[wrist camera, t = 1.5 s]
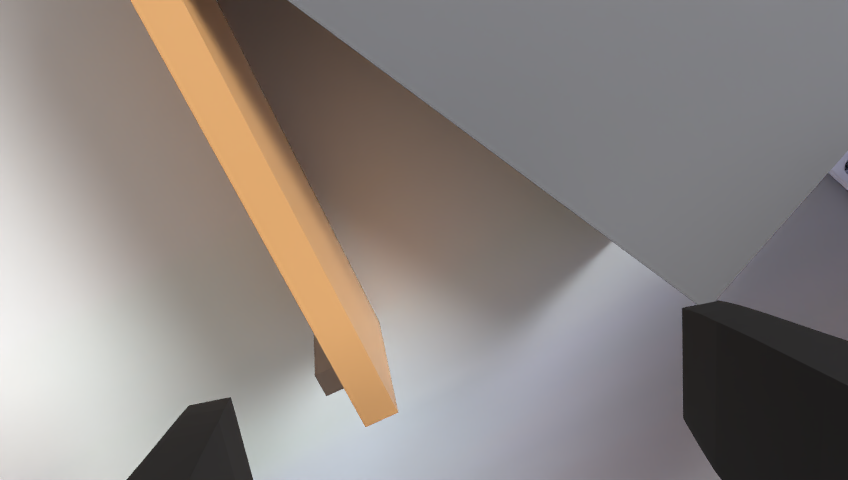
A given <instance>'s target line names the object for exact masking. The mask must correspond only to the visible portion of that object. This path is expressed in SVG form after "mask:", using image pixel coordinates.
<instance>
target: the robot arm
mask: <svg viewBox="0 0 848 480" xmlns="http://www.w3.org/2000/svg"><path fill="white" fill-rule="evenodd" d="M847 160H848V151H847V152H846V153H845V154H844V156H843V157H842V158H841V159H840V160H839V161H838V162H837V164H836V165H835V166H834V167H833V168H832V169H831V170H830V171H829V174H830V175H831V176H832V177H833V178H835V179H836V180H837V181H838V182H839V183H840V184H841V185H842V186H843V187H844V188H846V189H847V190H848V169H847V170H844V169H845V164H846V162H847ZM682 332H683V419H684V420H685V422H686V424H687V426H688V427H689V429H690V431H691V432H692V434H693V436H694V438H695V439H696V441H697V443H698V444H699V446H700V448H701V449H702V451H703V453H704V454H705V456H706V457H707V459H708V461H709V462H710V464H711V465H712V467H713V469H714V470H715V472H716V473H717V474H718V476H719V477H720V478H721V479H722V480H848V341H846V340H843V339H840V338H837V337H834V336H831V335H828V334H825V333H822V332H819V331H816V330H813V329H810V328H807V327H804V326H801V325H798V324H795V323H793V322H790V321H787V320H784V319H781V318H778V317H775V316H772V315H769V314H766V313H763V312H759V311H756V310H753V309H750V308H747V307H743V306H740V305H736V304H732V303H728V302H723V301H715V302H710V303H705V304H700V305H695V306H690V307H685V308H682ZM127 480H253V478H252V474H251V470H250V466H249V463H248V459H247V455H246V452H245V448H244V444H243V441H242V437H241V433H240V429H239V426H238V422H237V418H236V415H235V411H234V407H233V404H232V400H231V397H230V398H225V399H220V400H215V401H210V402H205V403H199V404H194V405H189V406H188V407H187V409H186V410H185V411H184V412H183V413H182V414H181V415H180V416H179V418H178V419H177V420H176V421H175V422H174V424H173V425H172V426H171V427H170V428H169V430H168V431H167V432H166V433H165V435H164V436H163V437H162V438H161V439H160V441H159V442H158V443H157V444H156V446H155V447H154V448H153V449H152V450H151V452H150V453H149V454H148V455H147V456H146V458H145V459H144V460H143V461H142V462H141V463H140V465H139V466H138V467H137V468H136V469H135V470H134V472H133V473H132V474H131V475H130V476H129V478H128V479H127Z"/></svg>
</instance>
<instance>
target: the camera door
mask: <svg viewBox="0 0 848 480" xmlns="http://www.w3.org/2000/svg"><path fill="white" fill-rule="evenodd" d="M130 1H131V2H132V4H133V6H134V8H135V10H136V11H137V13H138V15H139V17H140V19H141V21H142V22H143V24H144V26H145V28H146V30H147V31H148V33H149V35H150V37H151V39H152V40H153V42H154V44H155V46H156V48H157V50H158V51H159V53H160V55H161V57H162V59H163V60H164V62H165V64H166V66H167V68H168V70H169V71H170V73H171V75H172V77H173V79H174V80H175V82H176V84H177V86H178V88H179V89H180V91H181V93H182V95H183V97H184V99H185V100H186V102H187V104H188V106H189V108H190V109H191V111H192V113H193V115H194V117H195V119H196V120H197V122H198V124H199V126H200V128H201V129H202V131H203V133H204V135H205V137H206V139H207V140H208V142H209V144H210V146H211V148H212V149H213V151H214V153H215V155H216V157H217V158H218V160H219V162H220V164H221V166H222V168H223V169H224V171H225V173H226V175H227V177H228V178H229V180H230V182H231V184H232V186H233V188H234V189H235V191H236V193H237V195H238V197H239V198H240V200H241V202H242V204H243V206H244V207H245V209H246V211H247V213H248V215H249V217H250V218H251V220H252V222H253V224H254V226H255V227H256V229H257V231H258V233H259V235H260V237H261V238H262V240H263V242H264V244H265V246H266V247H267V249H268V251H269V253H270V255H271V257H272V258H273V260H274V262H275V264H276V266H277V267H278V269H279V271H280V273H281V275H282V276H283V278H284V280H285V282H286V284H287V286H288V287H289V289H290V291H291V293H292V295H293V296H294V298H295V300H296V302H297V304H298V306H299V307H300V309H301V311H302V313H303V315H304V316H305V318H306V320H307V322H308V324H309V325H310V327H311V329H312V331H313V333H314V356H315V377H316V378H317V380H318V382H319V384H320V385H321V387H322V389H323V391H324V393H325V394H326V396H328V395H330V394H332V393H334V392H337V391H339V390H341V389H343V388H344V389H345V391H346V393H347V394H348V396H349V398H350V400H351V402H352V404H353V405H354V407H355V409H356V411H357V413H358V414H359V416H360V418H361V420H362V422H363V424H364V425H365V427H367V426H369V425H371V424H374V423H376V422H378V421H380V420H382V419H385V418H387V417H389V416H391V415H394V414H396V413H398V409H397V404H396V400H395V395H394V390H393V385H392V380H391V376H390V371H389V366H388V361H387V357H386V352H385V347H384V342H383V337H382V333H381V328H380V323H379V321H378V319H377V317H376V315H375V313H374V311H373V309H372V307H371V305H370V303H369V301H368V299H367V297H366V295H365V293H364V291H363V289H362V287H361V285H360V283H359V281H358V279H357V277H356V275H355V273H354V271H353V269H352V268H351V266H350V264H349V262H348V260H347V258H346V256H345V254H344V252H343V250H342V248H341V246H340V244H339V242H338V240H337V238H336V236H335V234H334V232H333V230H332V228H331V226H330V224H329V222H328V220H327V218H326V216H325V214H324V212H323V210H322V208H321V206H320V204H319V202H318V200H317V198H316V196H315V194H314V192H313V190H312V188H311V187H310V185H309V183H308V181H307V179H306V177H305V175H304V173H303V171H302V169H301V167H300V165H299V163H298V161H297V159H296V157H295V155H294V153H293V151H292V149H291V147H290V145H289V143H288V141H287V139H286V137H285V135H284V133H283V131H282V129H281V127H280V125H279V123H278V121H277V119H276V117H275V115H274V113H273V111H272V109H271V107H270V105H269V104H268V102H267V100H266V98H265V96H264V94H263V92H262V90H261V88H260V86H259V84H258V82H257V80H256V78H255V76H254V74H253V72H252V70H251V68H250V66H249V64H248V62H247V60H246V58H245V56H244V54H243V52H242V50H241V48H240V46H239V44H238V42H237V40H236V38H235V36H234V34H233V32H232V30H231V28H230V26H229V24H228V23H227V21H226V19H225V17H224V15H223V13H222V11H221V9H220V7H219V5H218V3H217V1H216V0H130Z"/></svg>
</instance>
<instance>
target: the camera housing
mask: <svg viewBox="0 0 848 480" xmlns="http://www.w3.org/2000/svg"><path fill="white" fill-rule="evenodd" d="M288 1H289V2H291V3H292V4H293V5H295V6H296V7H297V8H299V9H300V10H301V11H303V12H304V13H305V14H307V15H308V16H309V17H311V18H312V19H313V20H315V21H316V22H317V23H319V24H320V25H322V26H323V27H324V28H326V29H327V30H328V31H330V32H331V33H332V34H334V35H335V36H336V37H338V38H339V39H340V40H342V41H343V42H344V43H346V44H347V45H348V46H350V47H351V48H352V49H354V50H355V51H357V52H358V53H359V54H361V55H362V56H363V57H365V58H366V59H367V60H369V61H370V62H371V63H373V64H374V65H375V66H377V67H378V68H379V69H381V70H382V71H383V72H385V73H386V74H388V75H389V76H390V77H392V78H393V79H394V80H396V81H397V82H398V83H400V84H401V85H402V86H404V87H405V88H406V89H408V90H409V91H410V92H412V93H413V94H414V95H416V96H417V97H418V98H420V99H421V100H423V101H424V102H425V103H427V104H428V105H429V106H431V107H432V108H433V109H435V110H436V111H437V112H439V113H440V114H441V115H443V116H444V117H445V118H447V119H448V120H449V121H451V122H452V123H453V124H455V125H456V126H458V127H459V128H460V129H462V130H463V131H464V132H466V133H467V134H468V135H470V136H471V137H472V138H474V139H475V140H476V141H478V142H479V143H480V144H482V145H483V146H484V147H486V148H487V149H489V150H490V151H491V152H493V153H494V154H495V155H497V156H498V157H499V158H501V159H502V160H503V161H505V162H506V163H507V164H509V165H510V166H511V167H513V168H514V169H515V170H517V171H518V172H519V173H521V174H522V175H524V176H525V177H526V178H528V179H529V180H530V181H532V182H533V183H534V184H536V185H537V186H538V187H540V188H541V189H542V190H544V191H545V192H546V193H548V194H549V195H550V196H552V197H553V198H555V199H556V200H557V201H559V202H560V203H561V204H563V205H564V206H565V207H567V208H568V209H569V210H571V211H572V212H573V213H575V214H576V215H577V216H579V217H580V218H581V219H583V220H584V221H585V222H587V223H588V224H590V225H591V226H592V227H594V228H595V229H596V230H598V231H599V232H600V233H602V234H603V235H604V236H606V237H607V238H608V239H610V240H611V241H612V242H614V243H615V244H616V245H618V246H619V247H620V248H622V249H623V250H625V251H626V252H627V253H629V254H630V255H631V256H633V257H634V258H635V259H637V260H638V261H639V262H641V263H642V264H643V265H645V266H646V267H647V268H649V269H650V270H651V271H653V272H654V273H656V274H657V275H658V276H660V277H661V278H662V279H664V280H665V281H666V282H668V283H669V284H670V285H672V286H673V287H674V288H676V289H677V290H678V291H680V292H681V293H682V294H684V295H685V296H686V297H688V298H689V299H691V300H692V301H693V302H695V303H696V304H697V305H700V304H705V303H710V302H715V301H716V300H717V299H718V298H719V296H720V295H721V294H722V293H723V292H724V291H725V290H726V289H727V287H728V286H729V285H730V284H731V283H732V282H733V281H734V279H735V278H736V277H737V276H738V275H739V274H740V273H741V271H742V270H743V269H744V268H745V267H746V266H747V265H748V264H749V262H750V261H751V260H752V259H753V258H754V257H755V256H756V254H757V253H758V252H759V251H760V250H761V249H762V248H763V246H764V245H765V244H766V243H767V242H768V241H769V240H770V239H771V237H772V236H773V235H774V234H775V233H776V232H777V231H778V229H779V228H780V227H781V226H782V225H783V224H784V223H785V221H786V220H787V219H788V218H789V217H790V216H791V215H792V214H793V212H794V211H795V210H796V209H797V208H798V207H799V206H800V204H801V203H802V202H803V201H804V200H805V199H806V198H807V196H808V195H809V194H810V193H811V192H812V191H813V190H814V189H815V187H816V186H817V185H818V184H819V183H820V182H821V181H822V179H823V178H824V177H825V176H826V175H827V174H828V173H829V171H830V170H831V169H832V168H833V167H834V166H835V165H836V164H837V162H838V161H839V160H840V159H841V158H842V157H843V156H844V154H845V153H846V152H847V151H848V0H288Z"/></svg>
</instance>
